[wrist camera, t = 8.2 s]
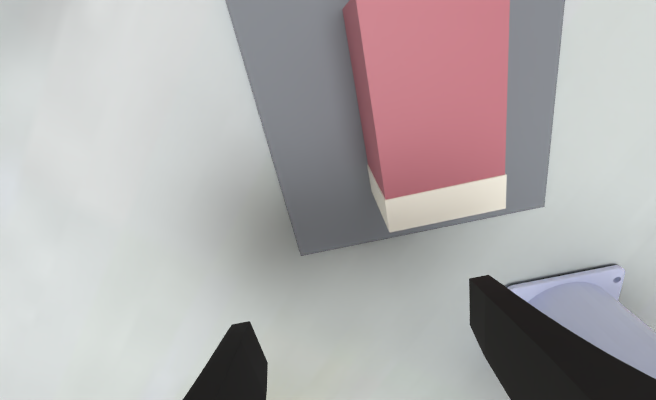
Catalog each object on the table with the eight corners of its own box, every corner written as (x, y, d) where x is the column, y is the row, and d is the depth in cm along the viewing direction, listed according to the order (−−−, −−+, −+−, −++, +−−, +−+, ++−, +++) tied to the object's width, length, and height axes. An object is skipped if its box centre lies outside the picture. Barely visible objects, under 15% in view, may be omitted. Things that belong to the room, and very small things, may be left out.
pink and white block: (454, -18, 14) (513, -45, 10) (460, 171, 18) (505, 208, 14) (341, 9, 14) (353, -6, 10) (371, 190, 18) (389, 232, 14)
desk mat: (538, 202, 20) (544, 206, 19) (301, 251, 20) (301, 255, 20) (570, -147, 13) (580, -153, 12) (210, -58, 14) (207, -61, 13)
